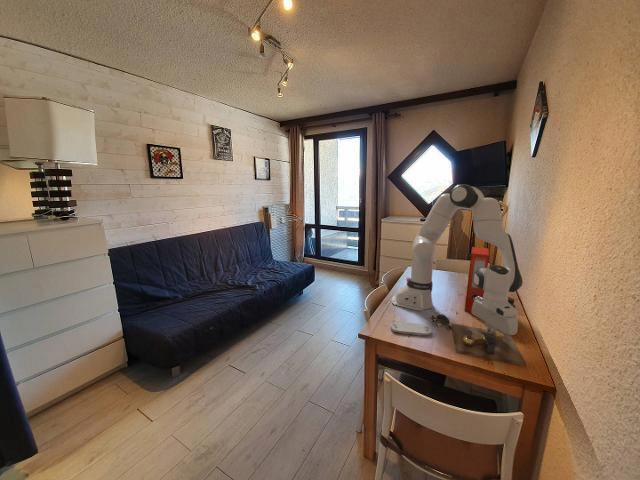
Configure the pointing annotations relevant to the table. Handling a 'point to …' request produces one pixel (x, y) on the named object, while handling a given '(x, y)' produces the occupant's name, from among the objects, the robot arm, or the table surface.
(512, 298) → the supplement bottle
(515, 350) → the walnut base plate
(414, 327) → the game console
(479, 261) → the file binder
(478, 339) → the brass link
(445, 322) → the eagle figurine
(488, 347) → the keeper hook
